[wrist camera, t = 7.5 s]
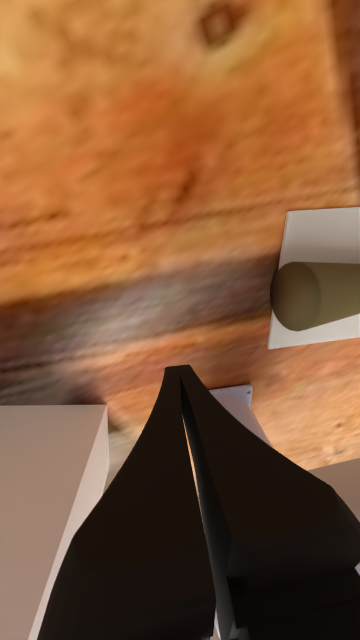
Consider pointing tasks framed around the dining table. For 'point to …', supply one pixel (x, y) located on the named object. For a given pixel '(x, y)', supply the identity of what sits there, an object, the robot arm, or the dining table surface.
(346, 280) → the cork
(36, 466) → the milk
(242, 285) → the dining table surface
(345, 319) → the mat
